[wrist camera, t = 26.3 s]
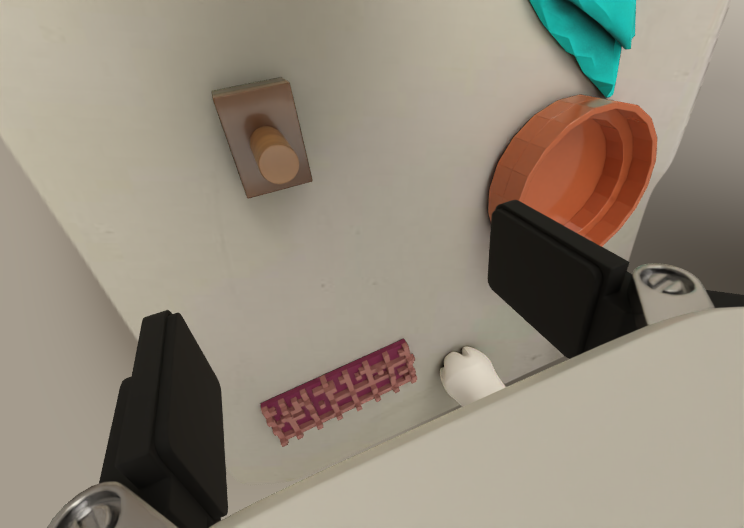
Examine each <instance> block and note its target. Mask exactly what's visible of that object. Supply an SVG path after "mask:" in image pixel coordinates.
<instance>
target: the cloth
mask: <svg viewBox="0 0 744 528" xmlns="http://www.w3.org/2000/svg"><path fill="white" fill-rule="evenodd" d="M529 1H530V2H531V4H532V6H533V8H534V10H535V11H536V13H537V15H538V17H539V18H540V20H541V22H542V23H543V25H544V26H545V27H546V28H547V30H548V31H549V32H550V33H551V34H552V35H553V37H554V38H555V39H556V40H557V41H558V42H559V44H560V45H561V46H562V47H563V48H564V49H565V51H566V52H568V53H570V54H572V55H574V56H575V58H576V60H577V62H578V63H579V65H580V67H581V69H582V71H583V73H584V74H585V75H586V76H587V77H588V78H589V79H590V80H591V81H592V82H593V83H594V84H595V86H596V87H597V88H598V89H599V90H600V91H601V92H602V94H603V95H604V96H605V97H606V98H608V97H611V96H612V95H613V93H614V88H615V83H616V78H617V72H618V66H619V60H620V54H621V46H622V47H623V48H624V49H631V40H632V38H633V37H634V36H635V17H636V0H529Z"/></svg>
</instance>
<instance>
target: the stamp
mask: <svg viewBox="0 0 744 528" xmlns="http://www.w3.org/2000/svg"><path fill="white" fill-rule="evenodd" d="M212 98H213V101H214V104H215V107H216V110H217V113H218V116H219V119H220V121H221V124H222V127H223V130H224V133H225V136H226V139H227V141H228V144H229V147H230V150H231V153H232V156H233V159H234V161H235V164H236V167H237V170H238V173H239V176H240V179H241V181H242V184H243V187H244V190H245V193H246V196H247V198H252V197H256V196H259V195H263V194H267V193H271V192H274V191H278V190H282V189H286V188H289V187H293V186H297V185H301V184H304V183H308V182H312V176H311V172H310V167H309V163H308V159H307V154H306V150H305V146H304V142H303V137H302V133H301V129H300V125H299V120H298V116H297V112H296V107H295V103H294V99H293V95H292V90H291V86H290V83H289V82H288V81H286V80H285V79H283V78H282V77H279V78H274V79H269V80H264V81H259V82H254V83H249V84H244V85H239V86H234V87H229V88H224V89H219V90H214V91H212Z"/></svg>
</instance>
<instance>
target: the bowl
mask: <svg viewBox="0 0 744 528" xmlns="http://www.w3.org/2000/svg"><path fill="white" fill-rule="evenodd" d="M656 151H657V135H656V132H655V128H654V125H653V121H652V119H651V117H650V116H649V115H648V114H647V113H646V112H645V111H644V110H643V109H642V108H640V107H639V106H638V105H634V104H629V103H624V102H619V101H613V100H608V99H602V98H597V97H592V96H586V95H581V94H580V95H576V96H572V97H568V98H564V99H560V100H557V101H555V102H554V103H552V104H551V105H549V106H548V107H546V108H545V109H543V110H541V111H540V112H538V113H537V114H535V115H534V116H533V117H532V118H531V119H530V120H529V121H528V122H527V123H526V124H525V125H524V126H523V128H522V129H521V130H520V131H519V132H518V133H517V134H516V135H515V136H514V138H513V139H512V140H511V142H510V144H509V145H508V147H507V149H506V150H505V152H504V154H503V155H502V157H501V159H500V160H499V162H498V164H497V167H496V170H495V173H494V176H493V180H492V183H491V186H490V190H489V205H488V214H489V218H490V221H491V216H492V213H493V211H495V208H496V206H497V205H499V204H502V203H505V202H508V201H511V200H518V201H520V202H522V203H524V204H526V205H527V206H529V207H531V208H533V209H535V210H536V211H538V212H540V213H542V214H544V215H545V216H547V217H549V218H551V219H553V220H554V221H556V222H558V223H560V224H562V225H563V226H565V227H567V228H569V229H571V230H572V231H574V232H576V233H578V234H580V235H581V236H583V237H585V238H587V239H589V240H590V241H592V242H594V243H596V244H598V245H599V246H601V247H602V246H603V245H604V244H605V243H606V242H607V241H608V240H609V239H610V238H611V237H612V236H613V235H615V234H616V233H617V232H618V231H619V229H620V228H621V227H622V226H623V225H624V223H625V222H626V221H627V219H628V218H629V217H630V215H631V214H632V213H633V211H634V210H635V208H636V207H637V205H638V203H639V201H640V199H641V198H642V196H643V194H644V192H645V190H646V188H647V186H648V184H649V181H650V178H651V174H652V171H653V168H654V165H655V162H656Z"/></svg>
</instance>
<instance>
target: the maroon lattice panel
mask: <svg viewBox="0 0 744 528" xmlns="http://www.w3.org/2000/svg"><path fill="white" fill-rule="evenodd" d="M413 361H415V357H414V356H413V354H410V351H409V346H408V344H407V343H406V341H405V340H404V339H402V340H400V341H398V342H395V343H393V344H391V345H389V346H387V347H384V348H382V349H380V350H378V351H375V352H373V353H371V354H369V355H367V356H364V357H362V358H360V359H358V360H356V361H353V362H351V363H349V364H347V365H345V366H342V367H340V368H338V369H336V370H333V371H331V372H329V373H327V374H325V375H322V376H320V377H318V378H316V379H314V380H311V381H309V382H307V383H305V384H303V385H300V386H298V387H296V388H294V389H291V390H289V391H287V392H285V393H283V394H280V395H278V396H276V397H274V398H272V399H269V400H267V401H265V402H263V403H261V410H262V414H263V415H264V417H265V418H266V421H267V425H268V426H269V427H270V426H271V427H272V429H273V433H274V435H275V436H276V435H277V436H278V437H279V439H280V442H281V445H282V447H284V446H286V445H288V443H289V441H288V439H290V438H292V437H294V436H296V437H297V438H298V440H299V439H301V438H303V436H304V434H303V432H305V431H307V430H309V429H311V428H313V427H315V426H317V428H318V430H319V429H322V428H323V422H326V421H328V420H330V419H332V418H334V417H337V419H338V420H340V419H342V418H343V416H342V413H344V412H347V411H349V410H351V409H353V408H355V407H356V409H357V411H359V410H361V409H362V407H361V404H363V403H365V402H368V401H370V400H372V399H375V401H376V402H378V401H380V400H381V398H380V395H382V394H384V393H386V392H389V391H391V390H393V391H394V392H395V393H397V392H399V391H400V390H399V386H401V385H403V384H405V383H407V382H410V381H411V383H414V382H416V380H417V376H416V374H415V373H416V371H415V369H414V367H413V363H414V362H413Z"/></svg>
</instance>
